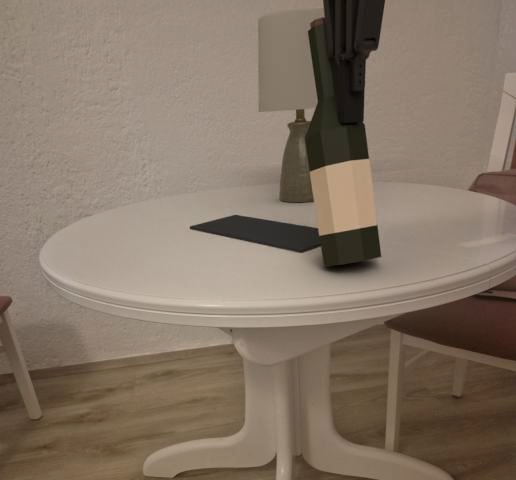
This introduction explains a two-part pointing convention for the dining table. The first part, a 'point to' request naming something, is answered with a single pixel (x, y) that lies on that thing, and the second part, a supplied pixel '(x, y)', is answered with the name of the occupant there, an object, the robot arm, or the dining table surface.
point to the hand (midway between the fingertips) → (350, 122)
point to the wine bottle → (339, 168)
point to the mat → (264, 232)
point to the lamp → (289, 89)
